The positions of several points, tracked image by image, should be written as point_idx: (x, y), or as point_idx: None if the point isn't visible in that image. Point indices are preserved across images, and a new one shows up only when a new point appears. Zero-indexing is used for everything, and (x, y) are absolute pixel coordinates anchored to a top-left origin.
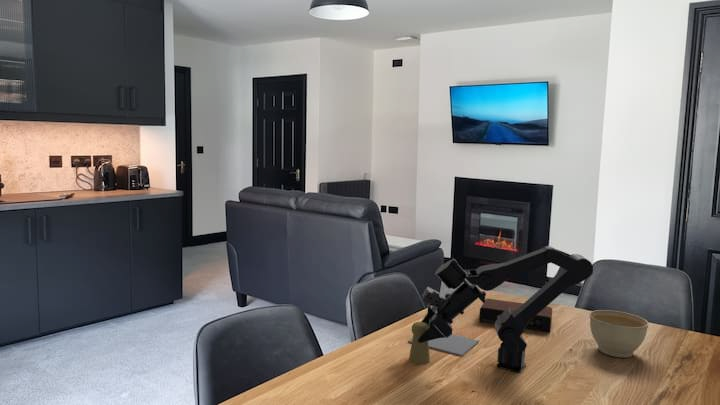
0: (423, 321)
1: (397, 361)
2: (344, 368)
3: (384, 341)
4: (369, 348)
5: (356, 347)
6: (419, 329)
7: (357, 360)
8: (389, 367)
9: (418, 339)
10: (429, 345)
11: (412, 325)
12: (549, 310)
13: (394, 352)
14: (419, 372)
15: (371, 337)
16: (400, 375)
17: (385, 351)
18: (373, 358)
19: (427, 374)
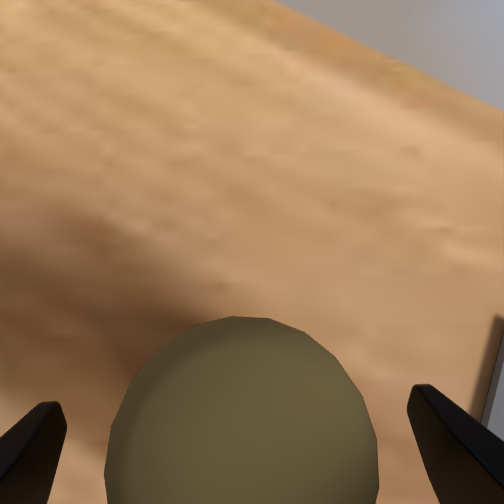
0: (497, 497)
1: (197, 269)
2: (82, 39)
3: (467, 185)
4: (343, 120)
5: (338, 65)
6: (111, 435)
7: (179, 81)
8: (109, 230)
9: (31, 414)
10: None
11: (239, 322)
12: None
13: (324, 247)
14: None
15: (496, 119)
16: (4, 294)
17: (325, 198)
18: (217, 146)
19: None
